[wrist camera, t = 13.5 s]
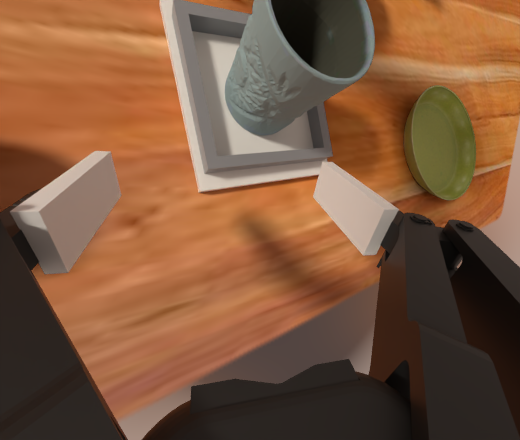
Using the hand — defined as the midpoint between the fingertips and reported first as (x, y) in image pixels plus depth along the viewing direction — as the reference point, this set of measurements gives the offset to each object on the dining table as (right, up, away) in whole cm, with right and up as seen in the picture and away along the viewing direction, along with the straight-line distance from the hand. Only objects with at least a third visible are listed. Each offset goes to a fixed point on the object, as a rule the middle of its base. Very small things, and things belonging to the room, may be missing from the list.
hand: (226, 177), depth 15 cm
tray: (+1, +12, +13) cm, 18 cm away
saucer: (+35, +11, +29) cm, 47 cm away
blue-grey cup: (+2, +12, +13) cm, 17 cm away
